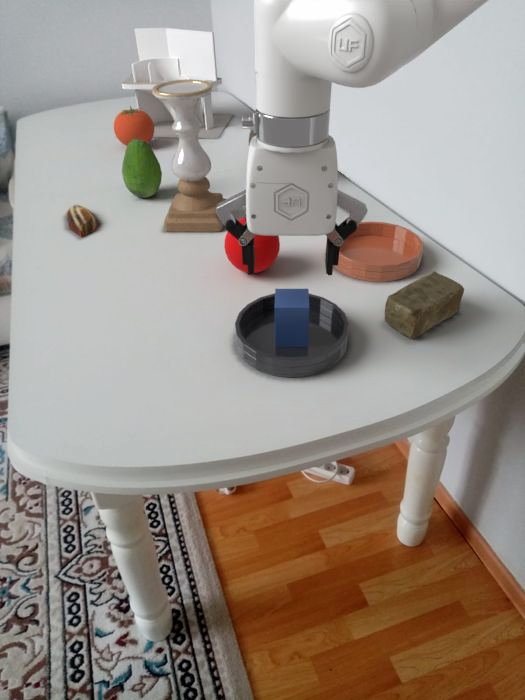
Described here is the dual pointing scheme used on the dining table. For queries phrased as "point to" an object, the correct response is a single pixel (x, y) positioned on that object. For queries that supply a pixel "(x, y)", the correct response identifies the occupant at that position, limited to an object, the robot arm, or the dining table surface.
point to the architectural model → (174, 75)
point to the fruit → (141, 169)
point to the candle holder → (190, 161)
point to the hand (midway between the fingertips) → (290, 269)
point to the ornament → (264, 250)
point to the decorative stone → (81, 220)
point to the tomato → (133, 126)
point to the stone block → (423, 304)
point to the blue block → (291, 317)
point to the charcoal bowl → (292, 361)
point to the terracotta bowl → (380, 252)
